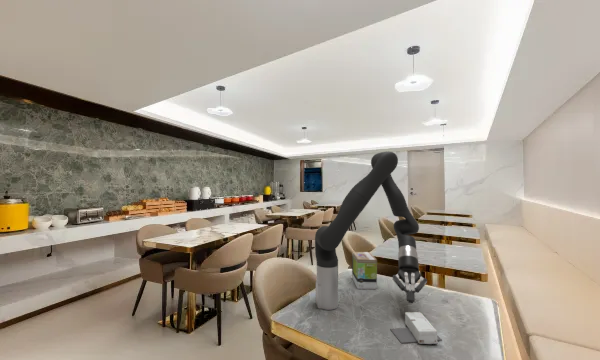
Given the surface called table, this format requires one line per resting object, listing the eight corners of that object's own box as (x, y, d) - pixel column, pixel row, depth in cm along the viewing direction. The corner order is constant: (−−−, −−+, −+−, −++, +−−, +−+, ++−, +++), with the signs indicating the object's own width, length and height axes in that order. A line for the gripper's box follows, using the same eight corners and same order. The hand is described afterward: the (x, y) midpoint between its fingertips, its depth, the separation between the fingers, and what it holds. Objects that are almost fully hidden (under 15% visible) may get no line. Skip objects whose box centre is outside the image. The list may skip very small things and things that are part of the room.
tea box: (377, 289, 126) (377, 259, 126) (357, 289, 126) (356, 259, 126) (369, 278, 141) (369, 251, 141) (351, 278, 141) (351, 251, 141)
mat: (401, 343, 83) (401, 342, 83) (390, 329, 91) (390, 328, 91) (441, 340, 84) (441, 339, 84) (427, 327, 92) (427, 326, 92)
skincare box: (420, 311, 94) (438, 329, 82) (421, 324, 94) (438, 344, 82) (404, 312, 94) (418, 330, 82) (404, 324, 94) (419, 344, 82)
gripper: (391, 253, 106) (391, 295, 94) (426, 256, 101) (432, 300, 90) (391, 262, 111) (391, 303, 99) (424, 265, 106) (429, 309, 94)
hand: (410, 302), depth 94 cm, fingers closed
